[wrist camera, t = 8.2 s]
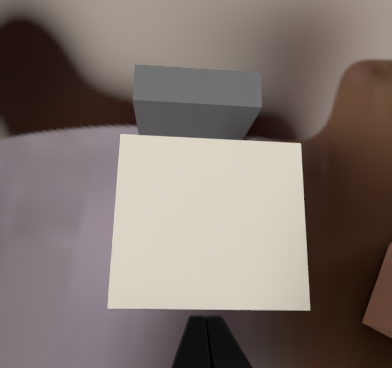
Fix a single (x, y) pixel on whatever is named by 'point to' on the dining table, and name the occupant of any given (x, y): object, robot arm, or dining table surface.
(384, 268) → the salmon rectangular block
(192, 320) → the robot arm
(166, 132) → the block
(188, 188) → the cream rectangular block
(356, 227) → the dining table surface
